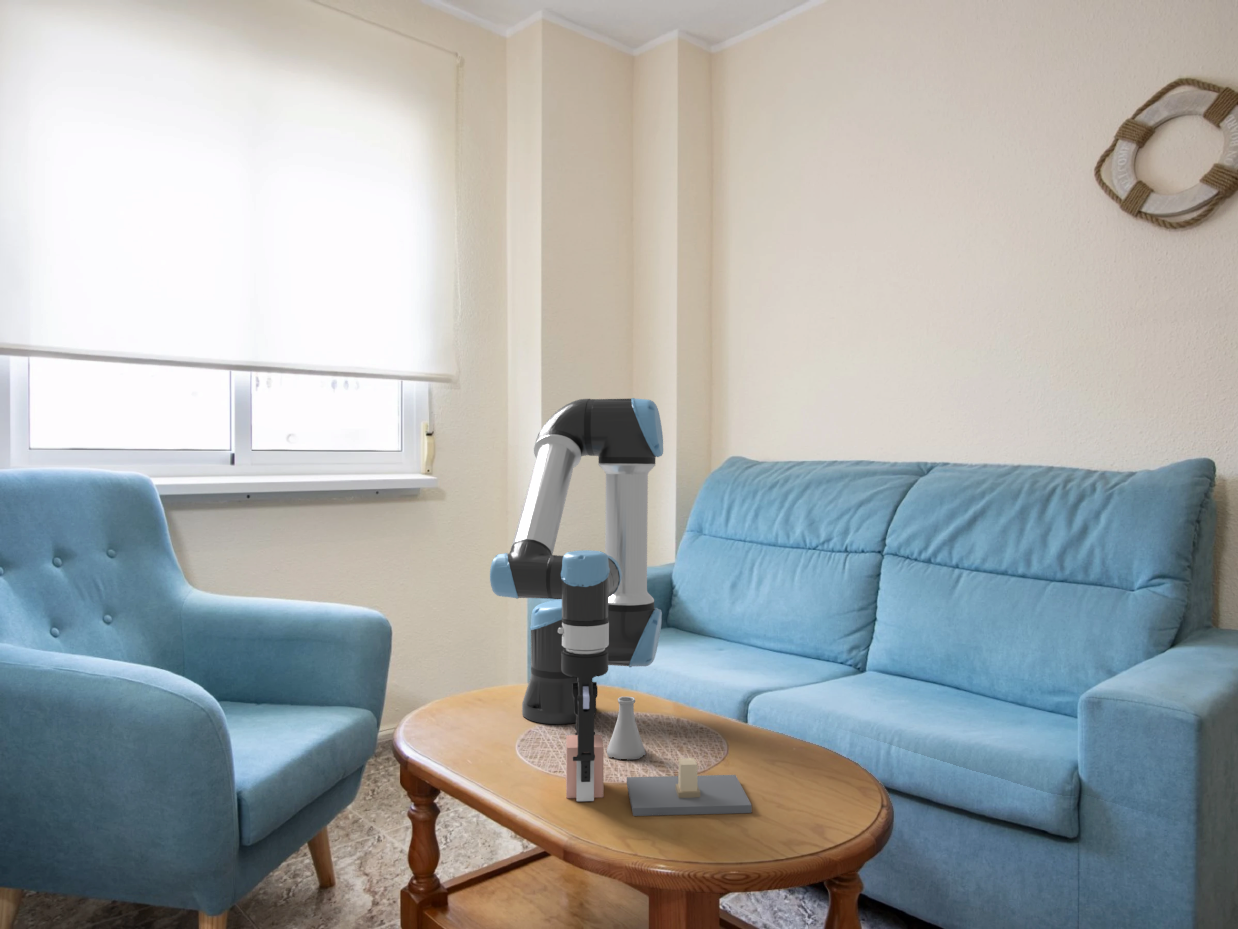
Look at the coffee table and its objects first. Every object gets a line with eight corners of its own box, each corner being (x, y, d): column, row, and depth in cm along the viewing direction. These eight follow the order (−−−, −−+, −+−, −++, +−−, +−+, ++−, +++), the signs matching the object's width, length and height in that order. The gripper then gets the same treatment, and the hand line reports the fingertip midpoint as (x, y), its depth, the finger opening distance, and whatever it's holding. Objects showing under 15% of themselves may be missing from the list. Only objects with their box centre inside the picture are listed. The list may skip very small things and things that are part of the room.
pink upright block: (566, 783, 143) (566, 735, 143) (601, 783, 143) (601, 734, 143) (566, 798, 137) (566, 747, 137) (603, 797, 138) (603, 747, 137)
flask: (642, 762, 153) (642, 706, 152) (602, 759, 154) (602, 703, 154) (649, 748, 160) (649, 694, 159) (610, 745, 161) (610, 691, 161)
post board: (626, 784, 143) (627, 747, 143) (735, 782, 144) (735, 744, 144) (633, 816, 131) (633, 775, 131) (751, 813, 132) (751, 772, 132)
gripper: (561, 634, 150) (560, 766, 150) (561, 665, 129) (561, 817, 130) (604, 634, 150) (604, 765, 151) (612, 664, 130) (611, 816, 130)
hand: (584, 789), depth 140 cm, fingers open, 8 cm apart
